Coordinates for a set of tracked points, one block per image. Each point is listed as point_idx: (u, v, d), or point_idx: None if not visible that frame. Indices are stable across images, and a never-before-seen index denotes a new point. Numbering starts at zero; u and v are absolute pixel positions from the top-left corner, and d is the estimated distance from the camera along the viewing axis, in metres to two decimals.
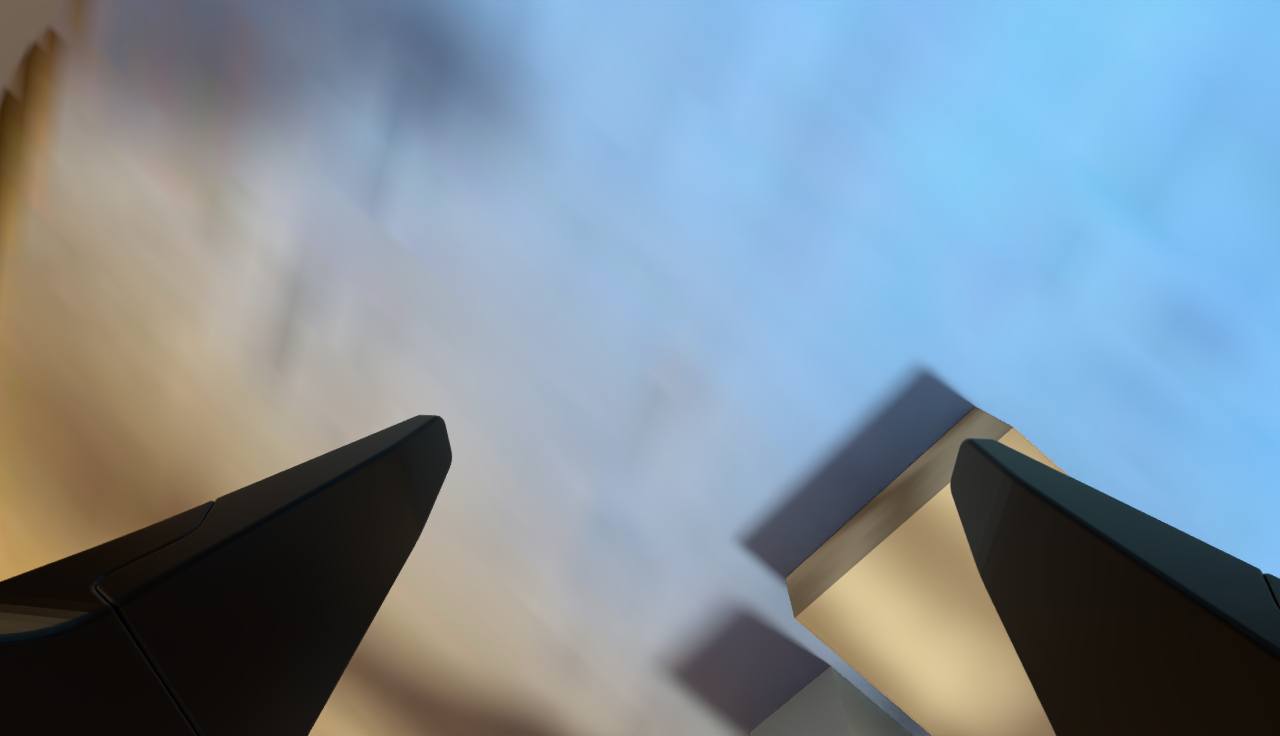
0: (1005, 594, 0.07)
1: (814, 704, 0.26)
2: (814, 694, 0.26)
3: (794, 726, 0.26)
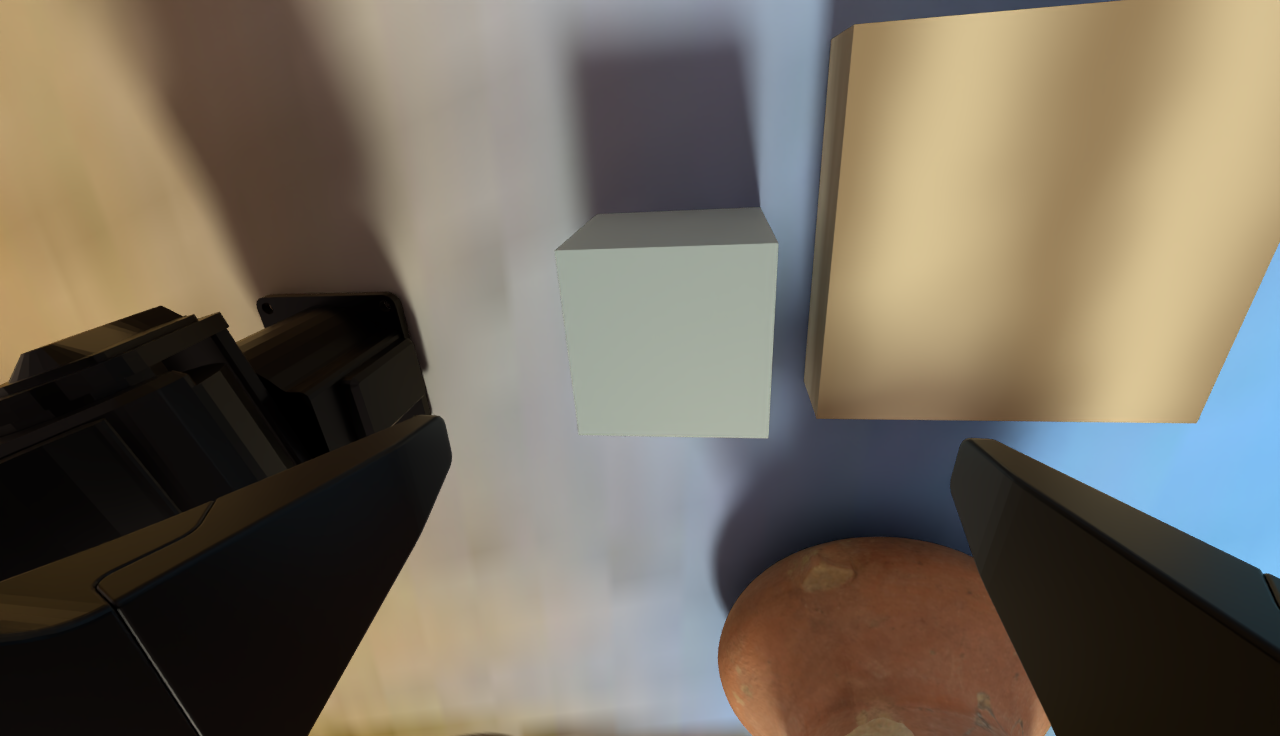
0: (1005, 594, 0.07)
1: (718, 215, 0.18)
2: (722, 212, 0.18)
3: (674, 218, 0.18)
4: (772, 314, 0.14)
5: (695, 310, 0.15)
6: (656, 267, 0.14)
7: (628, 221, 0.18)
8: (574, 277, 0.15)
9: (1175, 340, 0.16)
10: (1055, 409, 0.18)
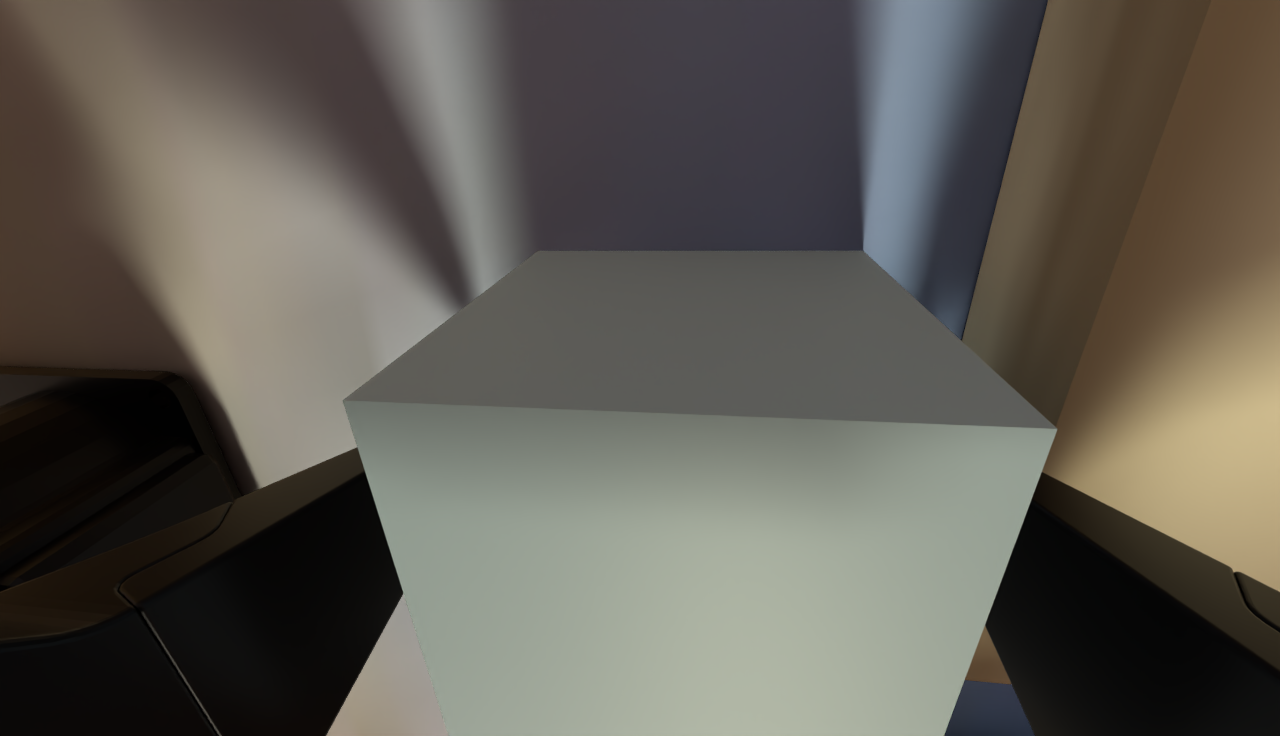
0: None
1: (786, 269, 0.08)
2: (791, 262, 0.09)
3: (692, 274, 0.08)
4: (983, 605, 0.05)
5: (756, 576, 0.05)
6: (646, 466, 0.05)
7: (592, 278, 0.08)
8: (409, 473, 0.05)
9: None
10: None
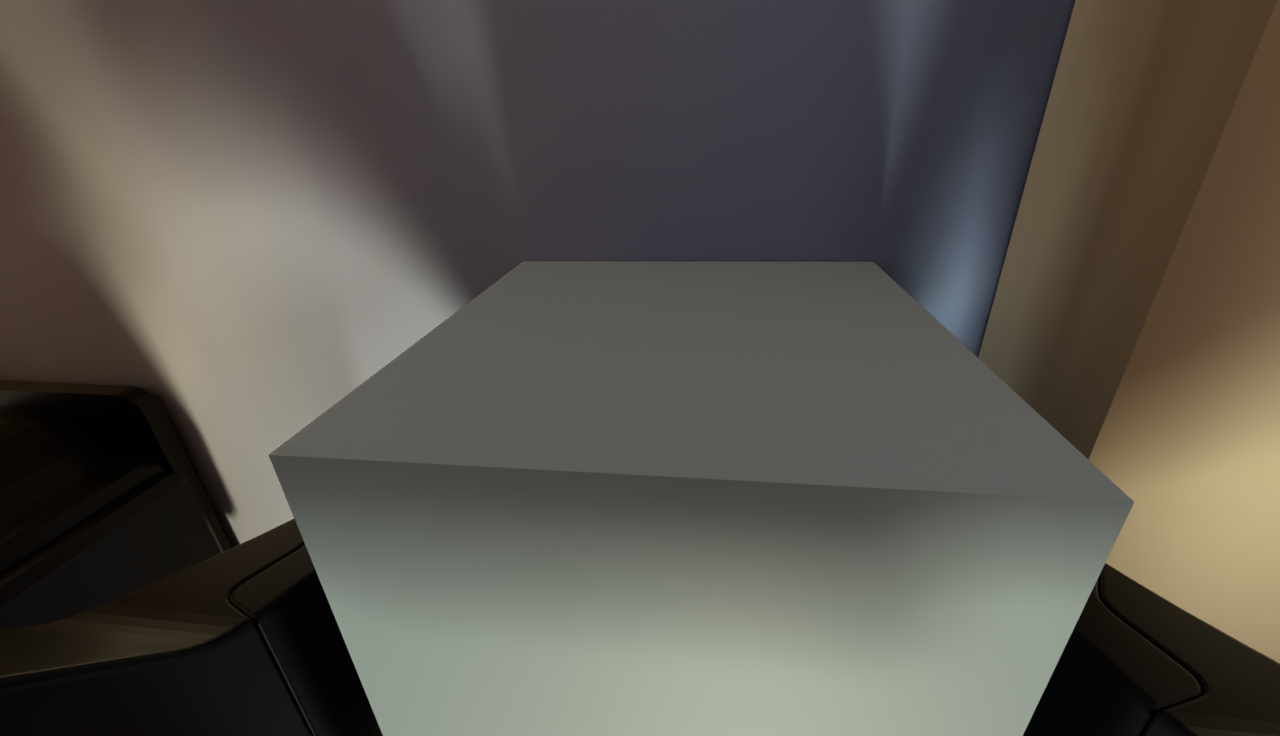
0: None
1: (791, 286, 0.08)
2: (796, 276, 0.08)
3: (688, 291, 0.07)
4: (1030, 696, 0.04)
5: (759, 658, 0.04)
6: (629, 534, 0.04)
7: (577, 294, 0.07)
8: (352, 536, 0.04)
9: None
10: None
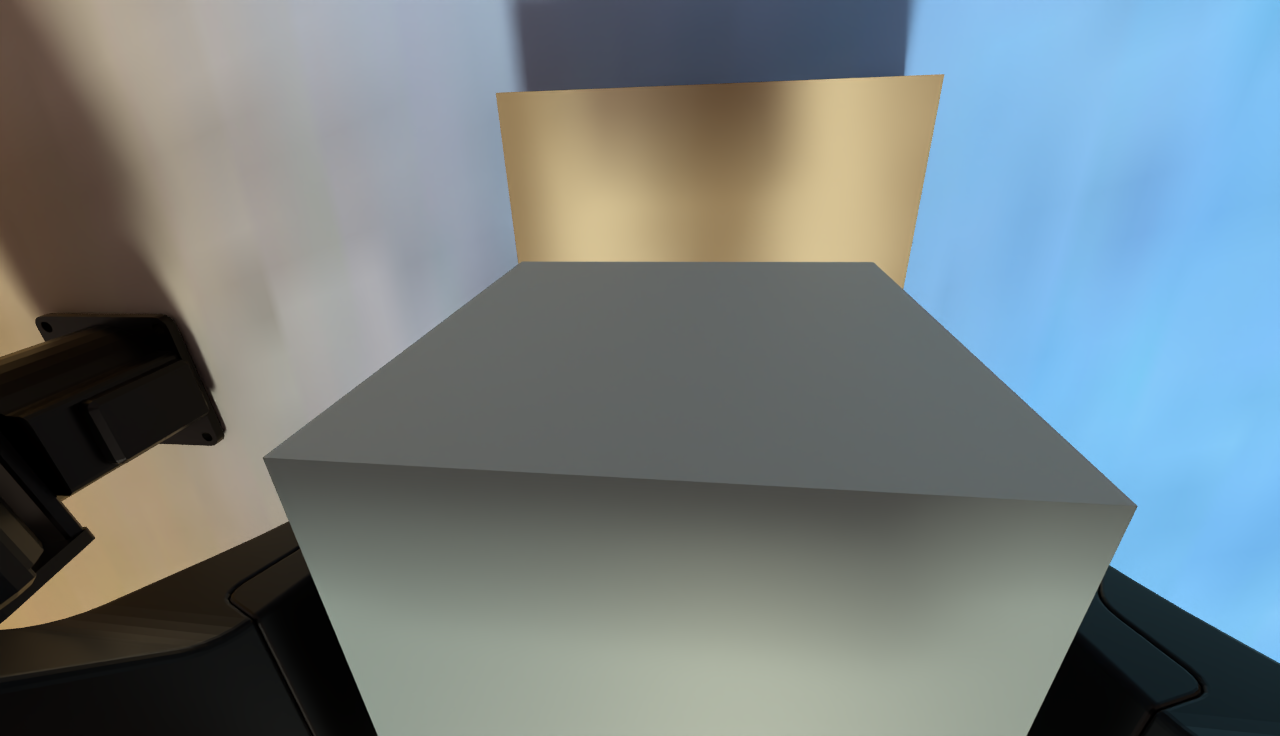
0: None
1: (791, 287, 0.07)
2: (796, 277, 0.08)
3: (687, 291, 0.07)
4: (1032, 701, 0.04)
5: (759, 662, 0.04)
6: (627, 538, 0.04)
7: (576, 295, 0.07)
8: (347, 539, 0.04)
9: None
10: None
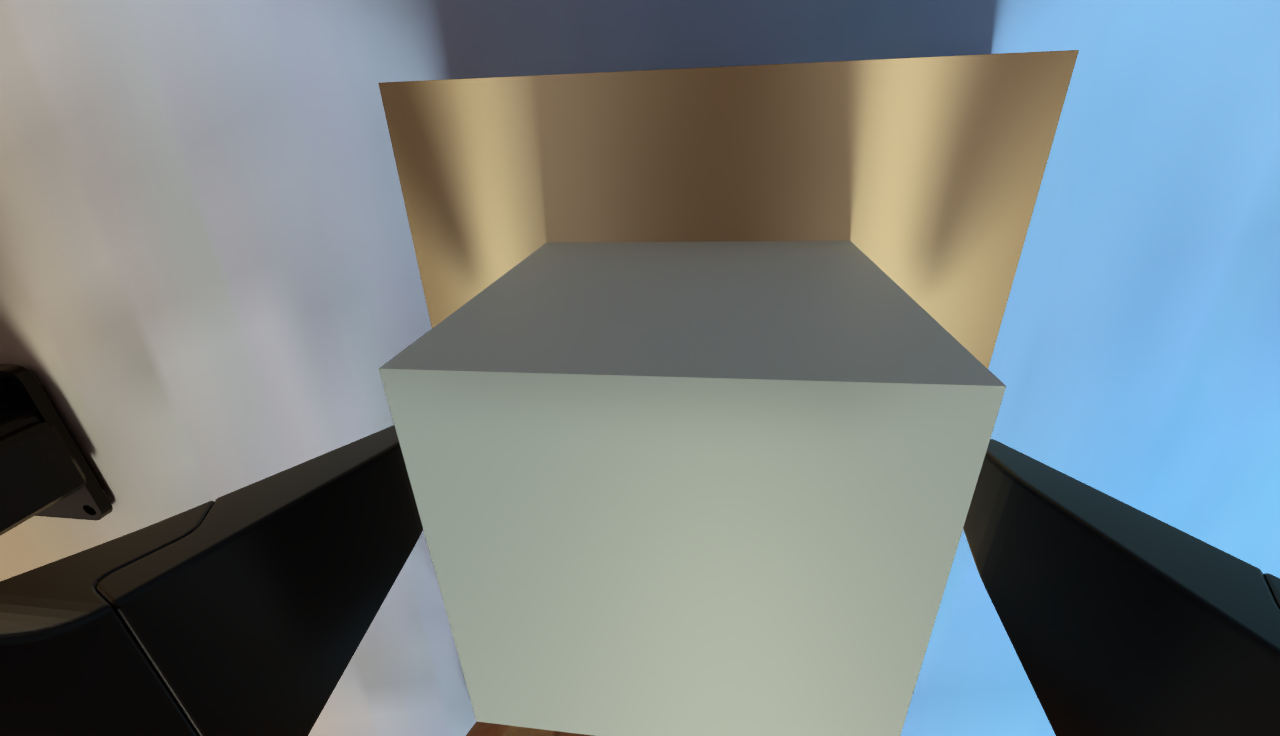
0: (1005, 594, 0.07)
1: (778, 259, 0.09)
2: (783, 252, 0.09)
3: (690, 263, 0.09)
4: (949, 550, 0.05)
5: (746, 527, 0.06)
6: (647, 424, 0.05)
7: (597, 266, 0.09)
8: (437, 434, 0.06)
9: None
10: None
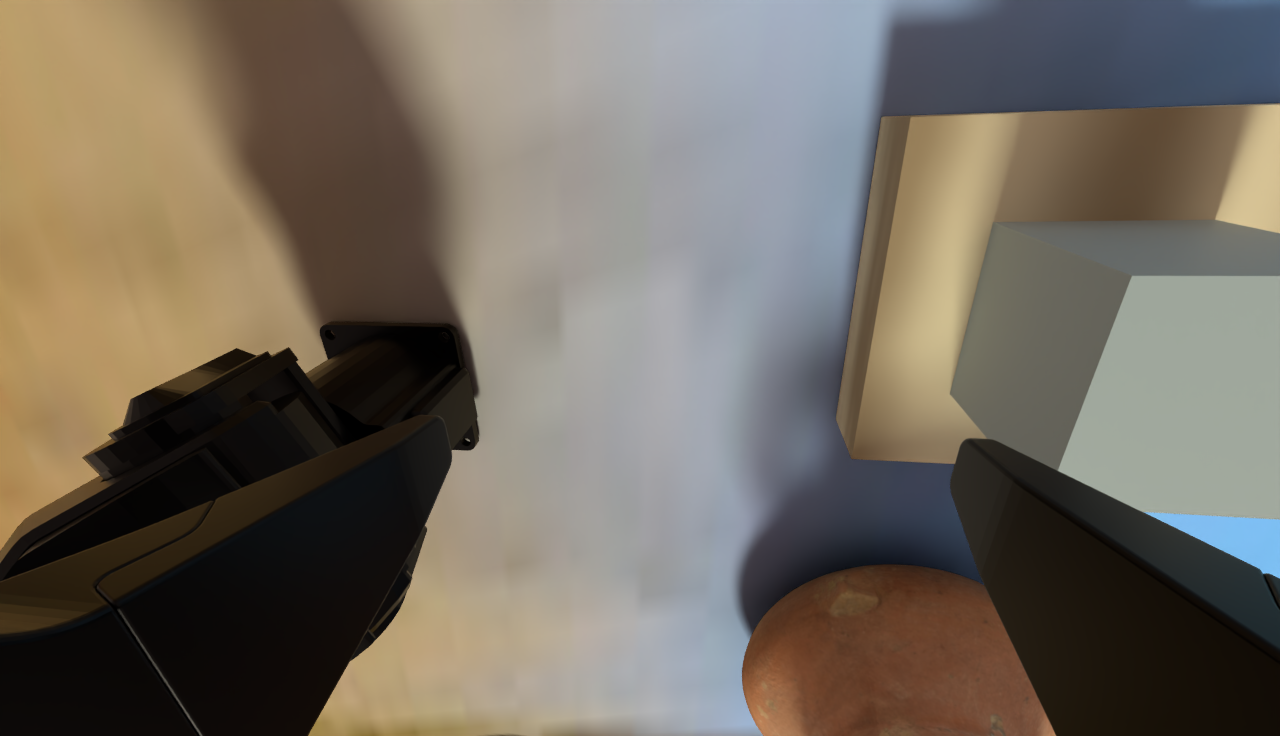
0: (1005, 594, 0.07)
1: (1197, 229, 0.14)
2: (1188, 226, 0.15)
3: (1144, 232, 0.14)
4: None
5: None
6: (1275, 302, 0.11)
7: (1085, 234, 0.14)
8: (1143, 312, 0.11)
9: None
10: None
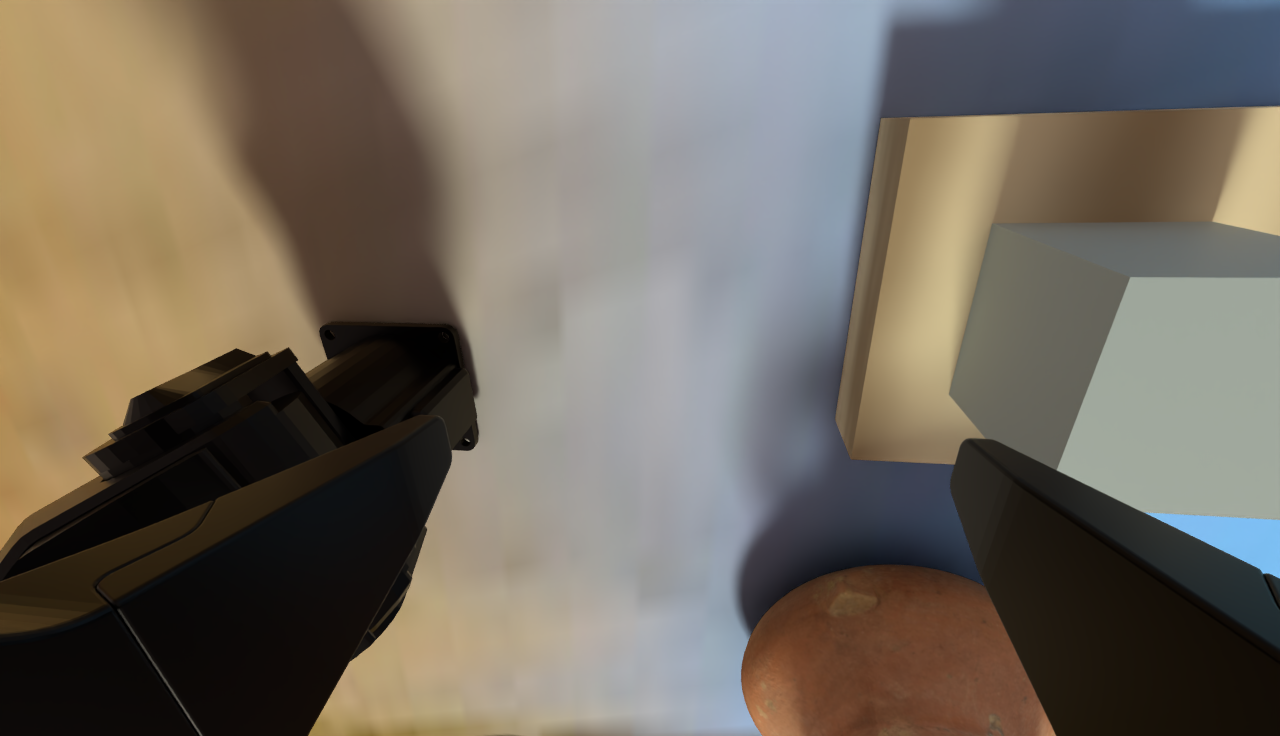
0: (1005, 594, 0.07)
1: (1195, 231, 0.14)
2: (1185, 227, 0.15)
3: (1142, 233, 0.14)
4: None
5: None
6: (1272, 304, 0.11)
7: (1083, 236, 0.14)
8: (1141, 313, 0.11)
9: None
10: None
